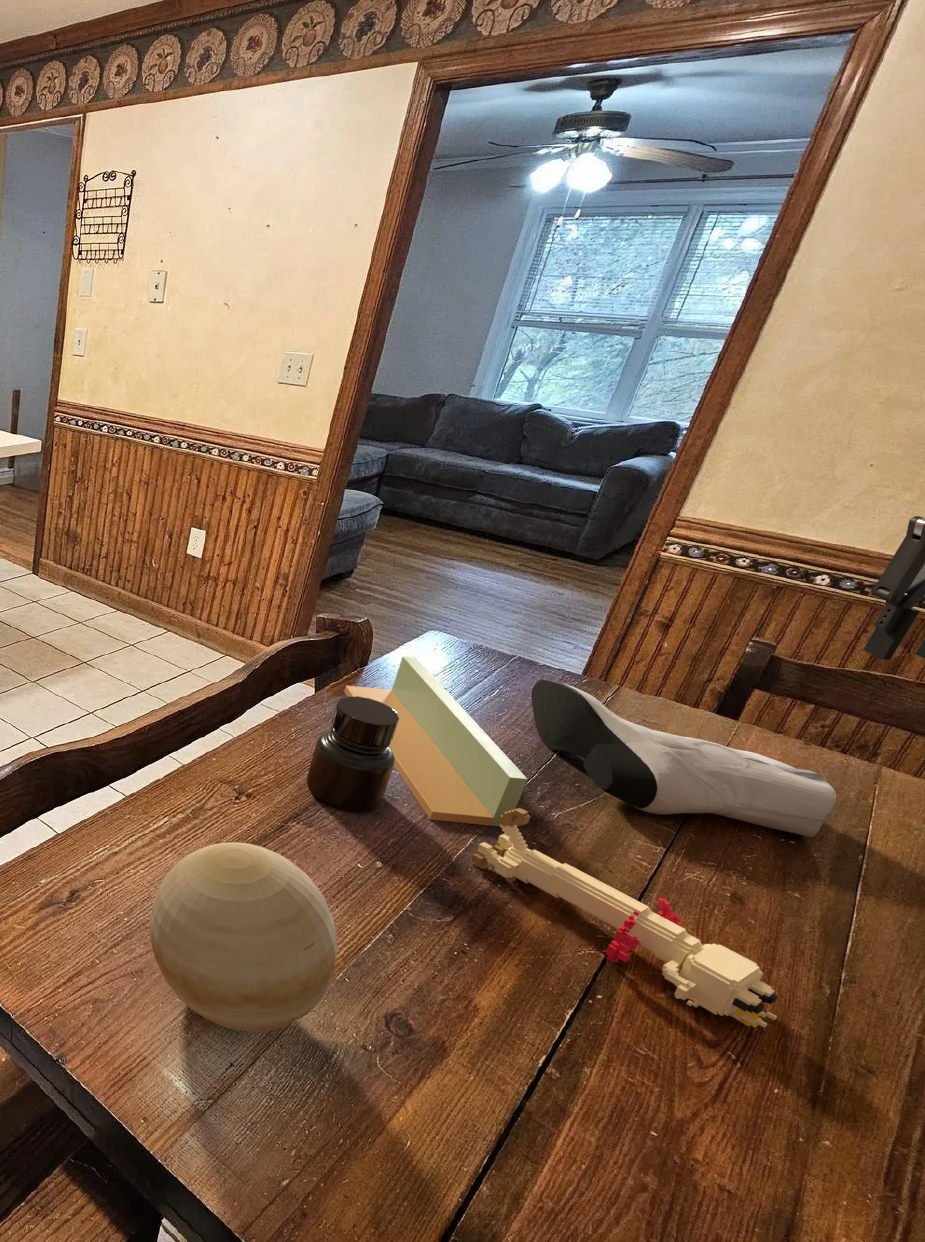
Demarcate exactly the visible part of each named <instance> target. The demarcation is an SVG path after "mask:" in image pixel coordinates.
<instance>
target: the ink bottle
mask: <svg viewBox="0 0 925 1242" xmlns="http://www.w3.org/2000/svg"><path fill="white" fill-rule="evenodd" d="M398 721H399V717H398V714H397V712H395V711H394V710H393V709H392V708H391V707H389V706H387V705H385V704H383V703H382V702H379V701H376V700H373V699H370V698H364V697H359V696H356V697H349V696H348V697H347V696H345V697H341V698H340V699H339V700H338V701H337V702H336V706H335V710H334V712H333V717H332V719H331V725H330V729H328V730H326V731H324V732H323V733H321V734H320V735H319V737H318V738H317V741H316V743H315V747H314V751H313V753H312V757H311V761H310V764H309V768H308V771H307V775H306V784H307V788H308V789H309V791H310V792H311V794H312V795H313V796H315V797H316V798H317V799H318V800H319V801H321V802H323V803H325V804H327V805H329V806H332V807H335V808H337V809H341V810H345V811H350V812H354V813H368V812H372V811H374V810H376V809H378V808H379V807H380V806H381V805H382V802H383V799H384V796H385V794H386V790H387V788H388V784H389V782H390V778H391V776H392V772H393V769H394V768H395V767H394V763H395V758H394V755H393V752H392V751H391V749H390V748H389V746H390V744H391V740H392V739H393V736H394V733H395V730H396V727H397V724H398Z"/></svg>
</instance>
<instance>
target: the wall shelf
mask: <svg viewBox="0 0 925 1242" xmlns="http://www.w3.org/2000/svg"><path fill="white" fill-rule="evenodd" d="M343 692H344V694H345V697H348V696H349V697H356V696H359V697H364V698H370V699H373V700H376V701H379V702H382V703H383V704H385V705H387V706H389V707H391V708H392V709H393V710H394V711H395V712H397V714H398V717H399V721H398V724H397V727H396V730H395V733H394V736H393V739H392V740H391V744H390V746H389V748H390V749H391V751H392V752H393V755H394V758H395V763H394V767H393V768H394V769H395V770H396V771H397V773H398V775H399V776H400V777H401V779H402V781H403V782H404V784H405V785H406V786H407V788H408V789H409V790H410V792H411V793H412V795H413V797H414V799H416V801H417V802H418V804H419V806H420V807H421V808H422V810H423V811H424V813H425V814H426V817H428V819H429V820H431V821H440V822H450V823H460V824H461V823H462V824H472V825H481V826H491V827H500V824H499V823H498V820H499V817H500V816H501V815H503V814H504V812H507V811H510V810H514V809H517V806H518V804H519V801H520V799H521V796H522V795H523V792H524V790H525V787H526V785H527V782H528V780H529V779H528V778H527V776H526V775H525V774H523V772H522V771H521V770H520V769H519V768H518V767H517V766H516V764H515V763H514V762H513V761H512V760H511V759H510V758H509V757H508V755H506V754H505V752H503V750H501V748H500V747H499V746H498V745H497V744H496V742H495V741H493V739H491V737H490V736H489V735H488V734H487V733H486V732H485V731H484V730H483V729H482V727H481V726H479V724H478V723H477V722H476V721H475V720H474V719H473V718H472V717H471V716H470V715H469V713H468V712H467V711H465V709H464V708H463V707H462V706H461V705H460V704H459V703H458V701H456V700H455V698H454V697H453V696H452V694H450V693H449V691H447V690H446V689H445V688H444V686H443V685H442V684H441V683H440V682H439V681H438V679H436V678H435V676H434V675H432V673H431V672H430V670H428V669H427V668H426V666H424V665H423V663H422V662H421V661H420V660H419V659H418V658H417V657H416V656H415V657H414V656H402V657H401V660H400V663H399V666H398V669H397V673H396V676H395V679H394V682H393V685H392V689H389V688H380V687H379V688H378V687H368V686H367V687H365V686H355V685H345V688H344V690H343Z"/></svg>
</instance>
